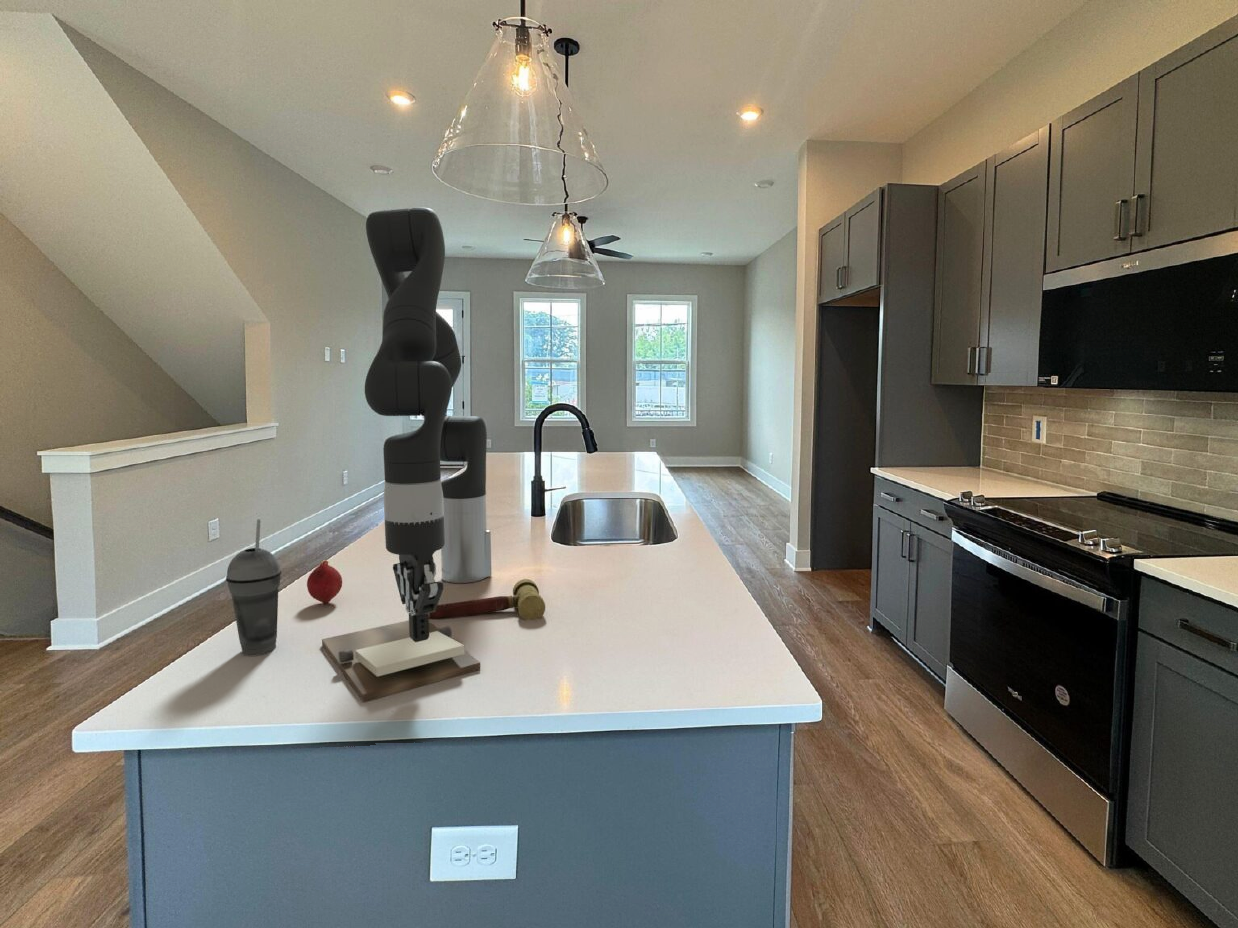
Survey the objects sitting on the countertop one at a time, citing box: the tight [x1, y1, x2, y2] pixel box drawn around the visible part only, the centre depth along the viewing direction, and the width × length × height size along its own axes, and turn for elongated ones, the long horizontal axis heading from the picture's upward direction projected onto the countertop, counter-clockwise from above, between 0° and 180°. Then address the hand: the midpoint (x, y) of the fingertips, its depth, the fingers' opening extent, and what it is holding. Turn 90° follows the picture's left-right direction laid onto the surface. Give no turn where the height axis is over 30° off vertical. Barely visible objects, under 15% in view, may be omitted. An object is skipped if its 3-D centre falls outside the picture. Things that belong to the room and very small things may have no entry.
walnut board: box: [321, 619, 481, 703], centre depth 96 cm, size 16×22×3 cm
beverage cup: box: [225, 518, 282, 657], centre depth 97 cm, size 7×7×20 cm
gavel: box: [428, 578, 546, 621], centre depth 114 cm, size 21×5×10 cm
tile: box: [355, 631, 465, 677], centre depth 92 cm, size 12×10×1 cm
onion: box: [306, 559, 343, 604], centre depth 118 cm, size 6×6×8 cm
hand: (419, 638), depth 88 cm, fingers closed
